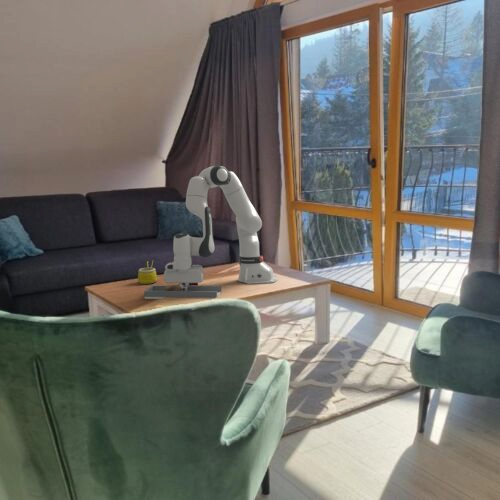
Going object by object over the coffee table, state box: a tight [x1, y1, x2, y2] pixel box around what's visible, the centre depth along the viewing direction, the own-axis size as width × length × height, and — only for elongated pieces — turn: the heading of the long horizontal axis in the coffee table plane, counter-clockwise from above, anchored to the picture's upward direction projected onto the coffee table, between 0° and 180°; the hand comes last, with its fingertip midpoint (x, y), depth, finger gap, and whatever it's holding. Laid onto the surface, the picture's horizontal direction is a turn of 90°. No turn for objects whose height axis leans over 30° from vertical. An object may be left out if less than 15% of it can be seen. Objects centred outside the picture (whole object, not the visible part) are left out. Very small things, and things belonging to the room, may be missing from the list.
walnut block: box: [164, 284, 181, 291], centre depth 297 cm, size 8×6×4 cm
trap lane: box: [143, 284, 222, 300], centre depth 297 cm, size 38×12×4 cm, turn 81°
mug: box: [137, 260, 158, 285], centre depth 329 cm, size 13×11×12 cm
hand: (184, 290), depth 297 cm, fingers closed
